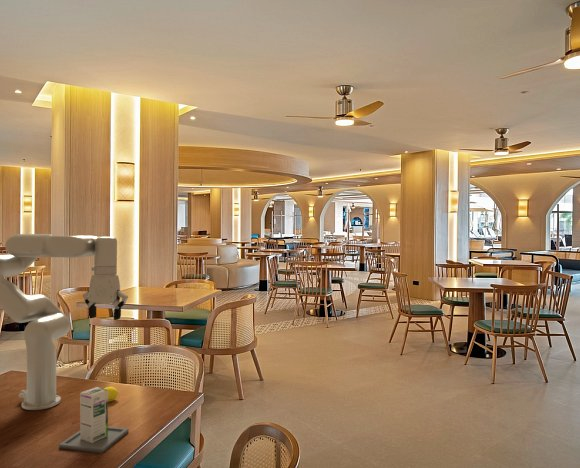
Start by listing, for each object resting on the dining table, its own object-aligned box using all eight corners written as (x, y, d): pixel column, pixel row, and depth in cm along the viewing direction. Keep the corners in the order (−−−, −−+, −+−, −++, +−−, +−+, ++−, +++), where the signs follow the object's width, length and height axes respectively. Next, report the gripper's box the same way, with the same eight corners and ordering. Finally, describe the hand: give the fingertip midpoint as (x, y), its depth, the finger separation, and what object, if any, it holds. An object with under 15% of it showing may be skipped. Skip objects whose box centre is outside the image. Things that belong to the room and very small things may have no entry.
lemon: (115, 398, 173) (117, 384, 174) (119, 403, 169) (121, 388, 170) (96, 400, 169) (98, 385, 170) (99, 404, 165) (102, 389, 165)
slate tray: (59, 448, 133) (59, 444, 133) (88, 427, 147) (88, 424, 146) (102, 453, 130) (102, 449, 130) (128, 432, 144) (128, 428, 144)
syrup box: (92, 443, 135) (92, 395, 134) (79, 439, 137) (79, 391, 137) (108, 436, 140) (108, 389, 139) (95, 431, 142) (96, 386, 142)
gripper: (77, 271, 160) (76, 319, 161) (121, 272, 157) (120, 322, 157) (90, 269, 168) (89, 315, 168) (133, 271, 164) (132, 318, 165)
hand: (104, 318), depth 163 cm, fingers open, 9 cm apart
